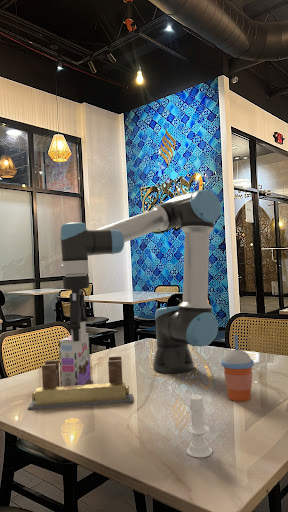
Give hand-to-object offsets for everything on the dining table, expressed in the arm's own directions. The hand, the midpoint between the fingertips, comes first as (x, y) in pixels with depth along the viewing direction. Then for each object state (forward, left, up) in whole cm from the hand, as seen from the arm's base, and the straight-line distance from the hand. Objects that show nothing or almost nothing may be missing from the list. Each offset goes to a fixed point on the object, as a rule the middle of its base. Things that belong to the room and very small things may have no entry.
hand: (79, 347), depth 122 cm
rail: (0, 0, -15) cm, 15 cm away
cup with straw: (-45, +5, -16) cm, 48 cm away
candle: (-28, +37, -16) cm, 49 cm away
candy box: (+4, -19, -16) cm, 25 cm away
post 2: (-10, -7, -16) cm, 20 cm away
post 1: (+10, -7, -16) cm, 20 cm away
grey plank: (0, 0, -16) cm, 16 cm away
